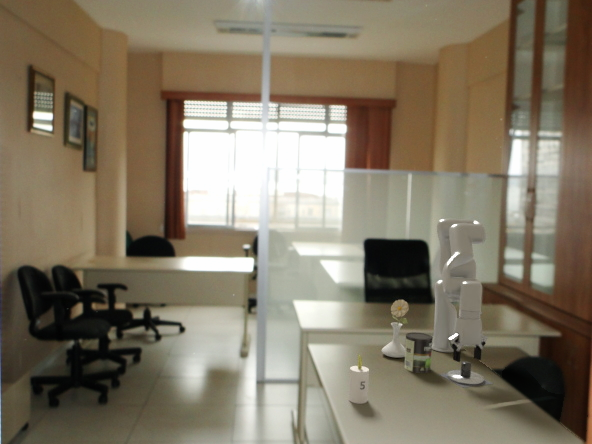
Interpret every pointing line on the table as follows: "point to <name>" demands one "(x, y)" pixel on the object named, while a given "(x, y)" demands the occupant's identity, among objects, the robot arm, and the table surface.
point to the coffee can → (418, 352)
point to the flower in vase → (397, 330)
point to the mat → (463, 384)
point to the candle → (358, 383)
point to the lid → (465, 375)
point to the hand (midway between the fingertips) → (466, 360)
